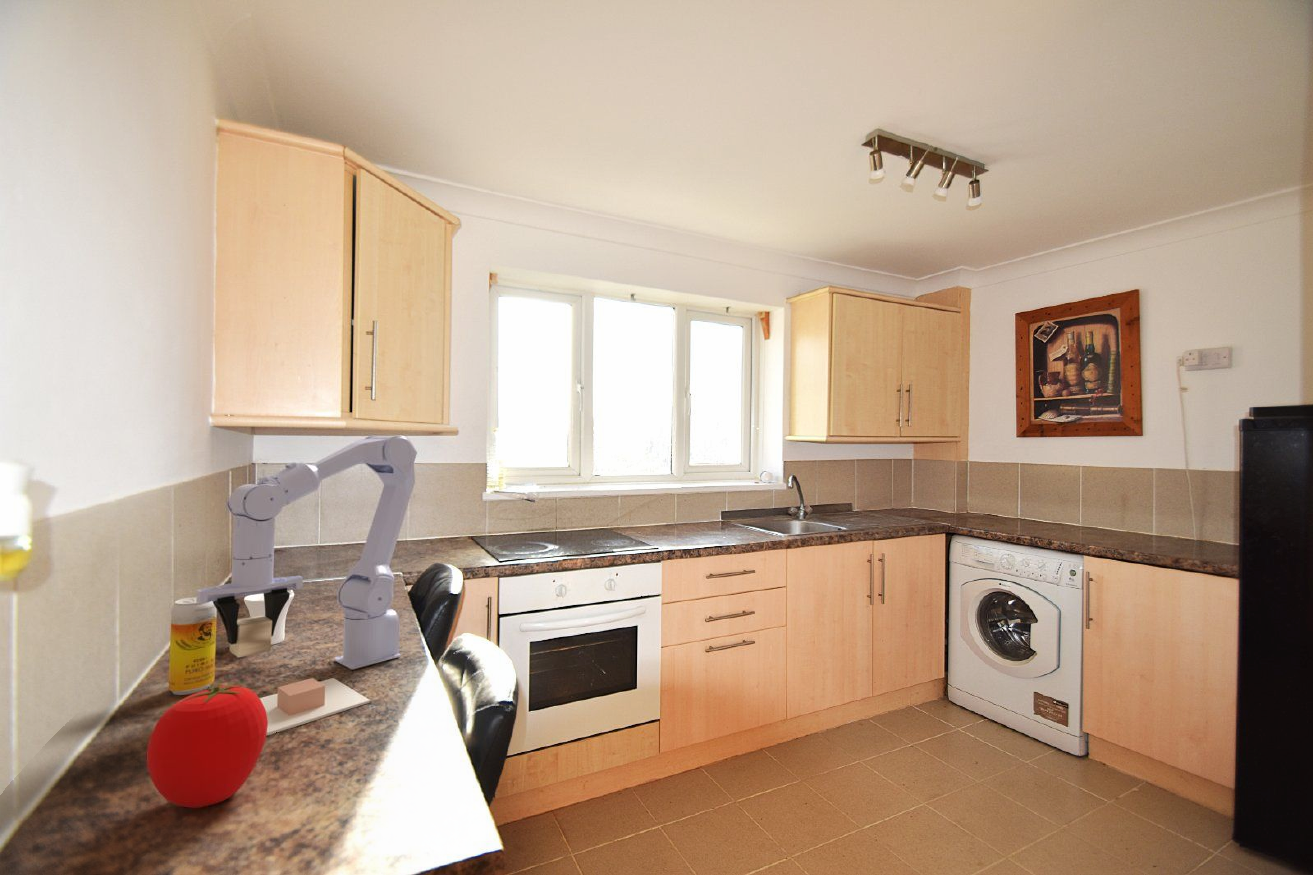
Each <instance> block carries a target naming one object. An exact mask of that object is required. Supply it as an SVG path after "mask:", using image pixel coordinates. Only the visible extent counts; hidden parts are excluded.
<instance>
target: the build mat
mask: <svg viewBox="0 0 1313 875" xmlns="http://www.w3.org/2000/svg"><path fill="white" fill-rule="evenodd" d="M319 682H320V683H321V684H323V685H324V686H325V705H323V706H320V707H317V708H313V709H310V710H307V711H304V712H300V713H297V714H294V715H291V716H289V715H287V714H286V713H285V712H284V711H282V710H281V709H280V708H279V707H277V698H278V692H277V693H275V694H270V695H267V696H263V697H259V698H260V700H261V702H262V704H263V706H264V708H265V710H266V714H267V720H268V727H267V734H266V737H267V736H271V735H273V734H277V733H279V732H283V731H285V730H289V729H292V728H295V727H299V726H301V725H304V724H308V723H310V722H313V721H317V720H320V719H322V718H326V717H327V718H328V717H330V716H333V715H336V714H339V713H342V712H344V711H348V710H352V709H354V708H357V707H360V706H363V705H366V704H369V703H370V702H371V700H370V699H369V698H367V697H365V696H364V695H362V694H361V693H359V692H357V691H356V690H354V689H352V688H350V686H347V685H345V684H344V683H342V682H340V681H339V680H337V679H336V678H334V677H332V678H329V679H325V680H321V681H319ZM276 732H277V733H276Z"/></svg>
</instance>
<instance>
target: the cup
mask: <svg viewBox="0 0 1313 875" xmlns="http://www.w3.org/2000/svg"><path fill="white" fill-rule="evenodd" d="M293 590H294V589H289V590H287V592H289V593H290V596H289V599H288V601H287V602H286V604H285V605H284V607H283V609H282V611H281V613H280V615H279V618H278V620H277V623H276V626H275V630H274V634H273V636H271V646H274V645H276V644H277V645H278V644H280V643H282V642H284V640H285V639H286V638H285V636H286V635H285V629H286V628H285V627H286V618H287V613H288V612H289V610H288V609H289V608H290V605H291V602H292V600H293V598H294V597H295V593H294V591H293ZM243 601H244V603H245V606H246V607H247V610H248V612H249V616H250V617H256V616H265V602H264V593H262V594H256V595H249V596H244V599H243ZM250 617H249V618H250Z"/></svg>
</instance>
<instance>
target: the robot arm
mask: <svg viewBox="0 0 1313 875" xmlns="http://www.w3.org/2000/svg"><path fill="white" fill-rule="evenodd" d="M417 454H418V450H416V448H415V446H414V444H413V443H412V441H411V440H410V439H409V437H406V436H404V435H399V434H398V435H396V434H395V435H375V434H373V435H368V436H366V437H364V438H361V439H357V440H355V441H354V442H351V443H350V444H348V445H346V446H344V447H342V448H341V449H338V450H337V451H335V452H333V453H331V454H329V455H327V456H325V457H323V458H321V459H320V460H318V461H316V462H313V463H312V464H309V463H305V462H303V461H302V462H301V461H300V462H298V463H297V462H294V461H293V462H292V461H291V462H288V463H287V464H285V466H284V467H285V468H284V469H282V470H280V471H278V472H276V473H273V474H271V475H269V476H267V475H261V476H259V477H258V478H257V479H258V481H257V484H253V483H250V484H249V483H247V484H243V485H240V486H237V488H235V489H234V490H233V492H232V493H230V496H229V500H227V501H226V502H225V503H226V504H225V505H226V508H227V511H228V512H229V513H230V514H231V515H232V517H233V526H232V550H231V551H232V552H231V553H232V556H231V583H227V584H222V585H217V586H213V587H212V586H211V587H207V588H201V589H196V597H197V599H196V602H197V603H199V604H204V603H208V602H211V601H213V604H214V606H215V607H216V609H217V613H218V614H219V616H220V618H221V620H222V623H223V625H224V629H225V633H226V638H227V643H228V644H229V645H230V644H236V643H237V619H238V618H239V610H240V605H241V604H240V603H238V602H237V599H236V598H241V597H246V596H249V595H256V594H262V593H264V602H265V617H267V618H268V619H270V620H272V632H271V636H273V634H274V630H275V626H276V623H277V620H278V618H279V615H280V613H281V611H282V609H283V607H284V605H285V604H286V602H287V601H288V599H289V596H290V593H289V592H287V591H289V590H294V589H295V590H299V589H303V586H304V585H303V584H304V577H303V576H301V575H293V576H292V575H291V576H283V577H274V563H275V561H274V560H275V526H276V525H275V524H276V523H275V522H276V517H277V516H278V515H279V514H280V512H281V511H282V509H283V508H284V507H286V506H288V505H290V504H292V503H293V502H296V501H298V500H300V499H302V498H305V497H306V496H307V495H311V493H314V492H316V491H317V490H318V489H319V487H320V485H321V482H322V481H323V480H325V479H328V478H330V477H333V476H334V475H336V474H339V473H341V472H343V471H345V470H347V469H350V468H352V467H356V466H357V465H359V464H365V466H367V467H368V468H369V469H371V470H372V471H373V472H374V474H376V475H378V477H379V479H380V480H381V482H382V484H383V488H382V489H381V490H382V491H381V494H380V498H379V500H378V504H377V507H376V510H375V512H374V515H373V519H372V522H371V525H370V528H369V530H368V535H367V538H366V540H365V544H364V547H363V548H362V549H363V550H362V553H361V556H360V559H359V561H358V562H357V563H356V564H354V565H353V566H352V567H351V568H350V569H349V570H348V573H347V576H346V578H345V579H344V580H343V581H342V582H341V584H339V587H338V589H337V593H336V600H337V603H338V604H339V606H341V607H342V610H343V611H342V613H343V638H342V640H343V641H342V642H343V643H342V644H343V645H342V655H340V656H335V657H334V658H333V660H334V661H335V662H337V663H339V664H340V665H342V666H344V667H346V668H347V669H349V670H356V669H360V668H363V667H368V666H370V665H375V664H379V663H382V662H386V661H388V660H389V661H390V660H393V659H396V658H400V657H401V653H399V652H400V646H399V645H400V619H399V615H398V613H397V612H396V611H395V610H394V609H393V608H390V607H391V605H392V603H393V601H394V597H395V596H394V595H395V594H394V583H395V580H396V578H395V575H394V574H393V572H392V570H391V567H390V564H391V562H392V558H393V555H394V553H395V552H394V551H395V548H396V545H397V543H398V542H397V541H398V538H399V536H400V532H401V528H402V526H403V523H404V522H403V521H404V518H405V516H406V512H407V509H408V506H409V503H410V499H411V496H412V494H413V490H414V487H415V482H416V475H415V461H416V457H417ZM389 608H390V609H389Z"/></svg>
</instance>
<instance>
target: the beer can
mask: <svg viewBox="0 0 1313 875" xmlns="http://www.w3.org/2000/svg"><path fill="white" fill-rule="evenodd" d="M196 599H197V596H192V597H191V596H190V597H183V598H181V599H177V600H175V601H174V604H173V605H172V607H171V610H170V612H171V613H170V634H169V635H170V640H169V665H168V667H169V669H168V690H169V691H171V692H172V694H174V695H178V696H179V695H180V696H183V695H185V696H186V695H192V694H195V693H198V692H201V691H204V690H208V686H209V687H211V686H212V684H213V683H214V681H215V673H216V644H217V642H216V641H217V613H218V611H217V609H216V607H215V606H214V604H213V601H211V602H208V603H204V604H199V603H197V602H196Z"/></svg>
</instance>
